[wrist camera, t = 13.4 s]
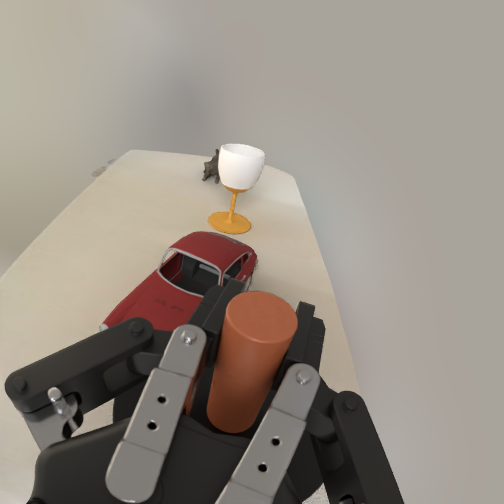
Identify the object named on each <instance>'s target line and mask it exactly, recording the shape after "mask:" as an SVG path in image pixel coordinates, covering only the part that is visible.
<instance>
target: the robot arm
mask: <svg viewBox="0 0 504 504" xmlns="http://www.w3.org/2000/svg"><path fill="white" fill-rule="evenodd" d="M245 287H246V283H245V282H242V281H240V280H237V279H234V278H231V279H230V280H229V282H228V283H227V285H226V287H224V286H221V285H218V284H217V285H215V286H213V287H212V288H210V289H209V290H208V291H207V293H206V294H205V296H204V298H203V299H202V300H201V302H200V303H199V305H198V306H197V308H196V309H195V311H194V312H193V314H192V315H191V317H190V318H189V320H188V321H187V323H186V324H185V325H181V326H179V327H177V328H176V329H175V330H174V331H164V330H157V329H154V328H153V325H152V324H151V322H150V321H148V320H147V319H145V318H142V317H132V318H129V319H127V320H125V321H122V322H120V323H118V324H116V325H114V326H112V327H110V328H108V329H105V330H103V331H101V332H99V333H97V334H95V335H93V336H90V337H88V338H86V339H84V340H82V341H80V342H77V343H75V344H73V345H71V346H69V347H67V348H65V349H62V350H60V351H58V352H56V353H54V354H52V355H49V356H47V357H45V358H43V359H41V360H39V361H36V362H34V363H32V364H30V365H28V366H26V367H23V368H21V369H19V370H17V371H15V372H13V373H11V374H10V375H9V376H8V378H7V379H6V382H5V391H6V393H7V395H8V397H9V398H10V399H11V401H12V402H13V404H14V406H15V407H16V409H17V410H18V411H19V413H20V414H21V415H22V417H23V418H24V419H25V421H26V423H27V425H28V427H29V429H30V431H31V433H32V435H33V437H34V439H35V441H36V443H37V445H38V447H39V448H40V450H41V453H40V455H39V456H38V459H37V461H36V465H35V481H34V488H33V492H32V495H31V497H30V499H29V501H28V502H27V503H26V504H302V503H301V501H300V499H299V497H298V495H297V493H296V491H295V488H294V486H293V484H292V482H291V480H290V478H289V476H288V473H287V468H288V466H289V464H290V462H291V460H292V457H293V455H294V453H295V450H296V448H297V446H298V443H299V441H300V439H301V436H302V434H303V431H304V430H306V431H307V432H309V433H310V438H311V441H312V445H313V448H314V452H315V455H316V458H317V462H318V465H319V469H320V472H321V475H322V479H323V482H324V486H325V489H326V493H327V496H328V499H329V503H330V504H404V502H403V499H402V496H401V494H400V491H399V488H398V485H397V483H396V480H395V477H394V475H393V472H392V470H391V467H390V465H389V462H388V459H387V457H386V454H385V452H384V449H383V447H382V444H381V442H380V439H379V437H378V434H377V432H376V429H375V427H374V424H373V422H372V419H371V417H370V414H369V412H368V410H367V407H366V405H365V402H364V400H363V399H362V398H361V397H360V396H359V395H358V394H356V393H354V392H352V391H342V392H340V393H337V392H335V391H333V390H332V389H330V388H328V387H327V386H326V385H325V384H324V383H323V382H322V380H321V379H320V376H319V366H320V360H321V354H322V348H323V342H324V335H325V326H324V323H323V320H322V319H319V318H316V317H313V315H314V310H315V306H314V305H311V304H308V303H305V302H302V301H300V303H299V305H298V308H297V310H296V316H297V321H298V327H297V330H296V332H295V335H294V337H293V339H292V342H291V344H290V346H289V348H288V350H287V352H286V355H285V357H284V359H283V361H282V363H281V366H280V368H279V370H278V372H277V375H276V377H275V379H274V381H273V384H272V387H271V390H274V391H276V392H275V396H274V399H273V401H272V403H271V404H270V406H269V408H268V410H267V412H266V414H265V416H264V418H263V420H262V422H261V424H260V425H259V427H258V429H257V431H256V433H255V435H254V437H253V438H252V440H251V439H248V438H245V437H240V436H231V435H223V434H216V433H213V432H212V431H210V430H209V429H207V428H206V427H204V426H203V425H201V424H200V423H198V422H197V421H195V420H194V419H193V418H191V417H189V416H190V411H191V408H192V405H193V402H194V398H195V395H196V392H197V389H198V385H199V382H200V379H201V375H202V374H203V372H204V370H205V368H206V366H207V367H210V368H212V367H213V365H214V363H215V361H216V358H217V352H218V347H219V342H220V337H221V332H222V327H223V322H224V317H225V312H226V308H227V305H228V303H229V302H230V301H231V300H232V299H233V298H234V297H235V296H237V295H239V294H241V293H244V291H245ZM147 379H148V380H147ZM145 380H147V383H146V385H145V387H144V390H143V392H142V394H141V397H140V399H139V401H138V404H137V406H136V408H135V411H134V413H133V415H132V417H130V418H127V419H124V420H121V421H119V422H116V423H113V424H110V425H108V426H105V427H102V428H99V429H96V430H93V431H90V432H87V433H84V434H81V435H78V436H75V437H71V435H72V434H73V432H74V431H76V430H77V429H78V428H79V427H80V426H81V425H82V423H83V415H84V414H85V413H87V412H89V411H91V410H93V409H95V408H97V407H98V406H100V405H102V404H104V403H106V402H108V401H109V400H111V399H113V398H115V397H117V396H119V395H120V394H122V393H124V392H126V391H127V390H129V389H131V388H133V387H135V386H136V385H138V384H140V383H142V382H143V381H145ZM70 437H71V438H70Z"/></svg>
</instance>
